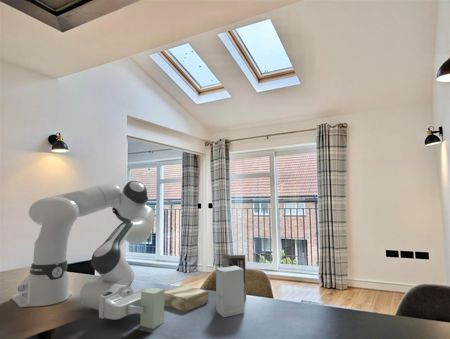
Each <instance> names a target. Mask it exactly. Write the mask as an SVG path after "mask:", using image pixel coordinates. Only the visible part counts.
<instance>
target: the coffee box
mask: <svg viewBox="0 0 450 339" xmlns="http://www.w3.org/2000/svg"><path fill="white" fill-rule="evenodd" d="M221 261H222V262H221V265H222V266H221V268H224V267H230V266H238V267H240V268H242V269H244V302H245V301H247V274H246V271H247V269H246V255H245V254H223V256H222V258H221Z"/></svg>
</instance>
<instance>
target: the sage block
mask: <svg viewBox="0 0 450 339" xmlns="http://www.w3.org/2000/svg"><path fill="white" fill-rule="evenodd" d="M148 288H149V289H146V290H144V291H141V305H142V306H145V312H144V313H142V314H140V317H139V318H140V320H139V321H140V322H139V326H141V327H145V328H148V329H153V330H154V329H155V328H158V327H159V326H160V325H163V324H164V323H165V305H164V291H165V290H166V289H164V288H158V287H152V286H151V287H148Z"/></svg>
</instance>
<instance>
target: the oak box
mask: <svg viewBox="0 0 450 339" xmlns="http://www.w3.org/2000/svg"><path fill="white" fill-rule="evenodd" d="M208 303H209V291H207V290H205V289H200V288H196V287H191V286H187V285H183V284H182V285H178V286H175V287H172V288H168V289H165V290H164V307H169V308H173V309H176V310H179V311H182V312H186V313H187V312H188V311H191V310H193V309H196V308H198V307H201V306H202V305H203V306H204V305H205V304H208Z"/></svg>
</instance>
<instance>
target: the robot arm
mask: <svg viewBox="0 0 450 339" xmlns="http://www.w3.org/2000/svg"><path fill="white" fill-rule="evenodd" d="M148 201H149V196H148V189H147V187H146V185H145V184H144V183H142V182H141V181H138V180H131V181H130V180H129V181H128V182H127V183H126V184H125V185H124V187H123V190H122V189H121V188H120V187H119V185H118V184H114V183H107V184H100V185H99V184H98V185H95V186H91V187H88V188H87V187H86V188H84V189H80V190H75V191H71V192H67V193H60V194H57V195H56V194H55V195H53V196H48V197H43V198H40V199H38V200H36V201H35V202H33V203H32V204H31V205H30V207H29V209H28V215H29V218H30V219H31V220H32V221H33V222H34V223H35V224H36V225H40V226H41V228H40V230H39V233H38V236H37V238H36V239H35V242H34V245H33V246H34V249H33V261H32V263H31V264H30V265H31V266H30V269H29V274H28V275H27V276H26V277H25V278H24V279H23V280H22V282H20V285H18V286H17V292H18V293H17V294H14V295H12V297H11V299H12V300H13V302H14V303H15V304H16V305H17V307H19V308H27V307H28V308H29V307H42V306H43V307H44V306H49V305H55V304H59V303H62V302H64V301H67V300H68V299H69V298H70V297H71V295H73V291H71V290H70V289H71V288H70V273H68V272H67V270H68V260H67V254H68V253H67V252H68V250H67V249H68V241H69V237H70V233H71V230H72V227H73V224H74V222H76V220H77V219H78V218H80V217H85V216H88V215H90V214H94V213H96V212H97V213H98V212H99V211H102V210H105V209H108V208H112V213H113V214H114V215H115V217H116V218H117V219H118V220H119V221H121V223H120V224H119V225H118V226H117V227H116V228H115V229H114V230H113V231H112V232H111V233H110V235H109V236H108V237H107V239H106V240H105V241H104V242H103V243H102V244H101V245H100V246H98V248H96V250H94V252H93V253H92V256H91V259H90V265H91V267H92V268H93V269H94V270H95V272H96V273H98V274H99V276H100V277H99V278H97V279H95V280H92V281H87V282H86V283H84V284H83V286H82V287H81V289H80V293H79V294H80V301H81V302H82V304H83V305H84V306H85V307H87V308H90V309H93V310H97V311H98V318H99V319H107V320H114V321H115V320H120V319H122V318H125V317H126V316H129V315H132V314H133V315H134V314H139V315H141V314H142V313H144V312H145V306H142V305H141V291H144V290H146V289H149V288H150V287H142V288H141V287H140V288H139V289H136V290H133V289H132V287H131V285H132V283H133V281H134V279H135V272H134V270H133V269H132V267H131V265H130V264H129V262H128V261H127V259H126V258H125V256H124V255H123V252H122V249H121V248H122V247H121V246H122V244H123V243H124V242H125V241H126V243H129V244H132V245H133V244H134V245H139V244H143V243H145V242H146V241H147V240H148V239H149V238H150V236H151V234H152V230H153V228H154V225H155V220H156V212H155V210H154V209H153V208H152V207H151V206H148V205H147V202H148Z"/></svg>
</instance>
